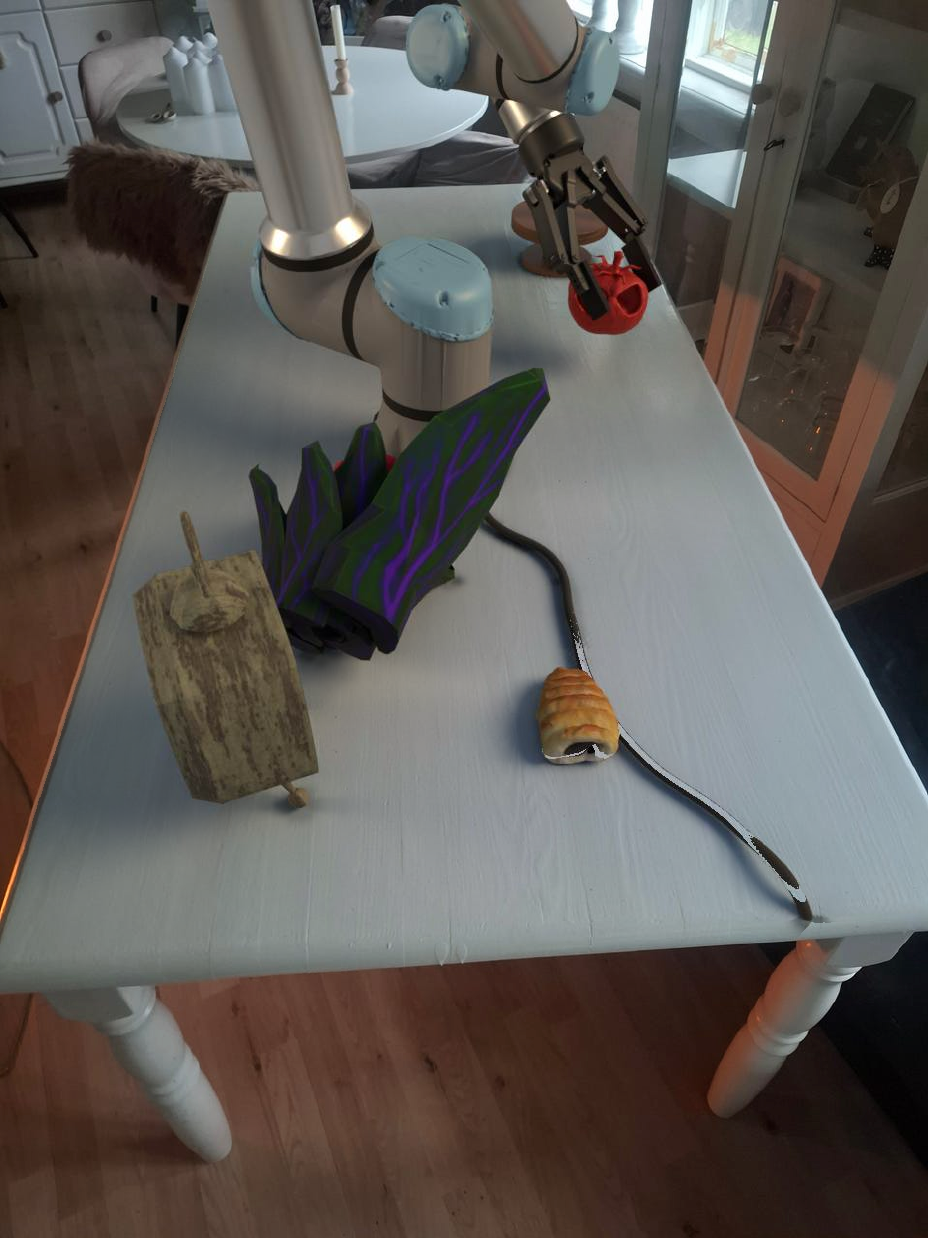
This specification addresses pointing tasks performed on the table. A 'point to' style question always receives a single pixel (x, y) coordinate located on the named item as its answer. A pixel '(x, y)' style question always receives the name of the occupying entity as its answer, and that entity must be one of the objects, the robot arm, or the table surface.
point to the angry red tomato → (612, 298)
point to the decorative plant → (388, 519)
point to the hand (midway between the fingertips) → (628, 302)
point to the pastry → (575, 718)
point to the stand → (533, 256)
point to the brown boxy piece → (225, 677)
